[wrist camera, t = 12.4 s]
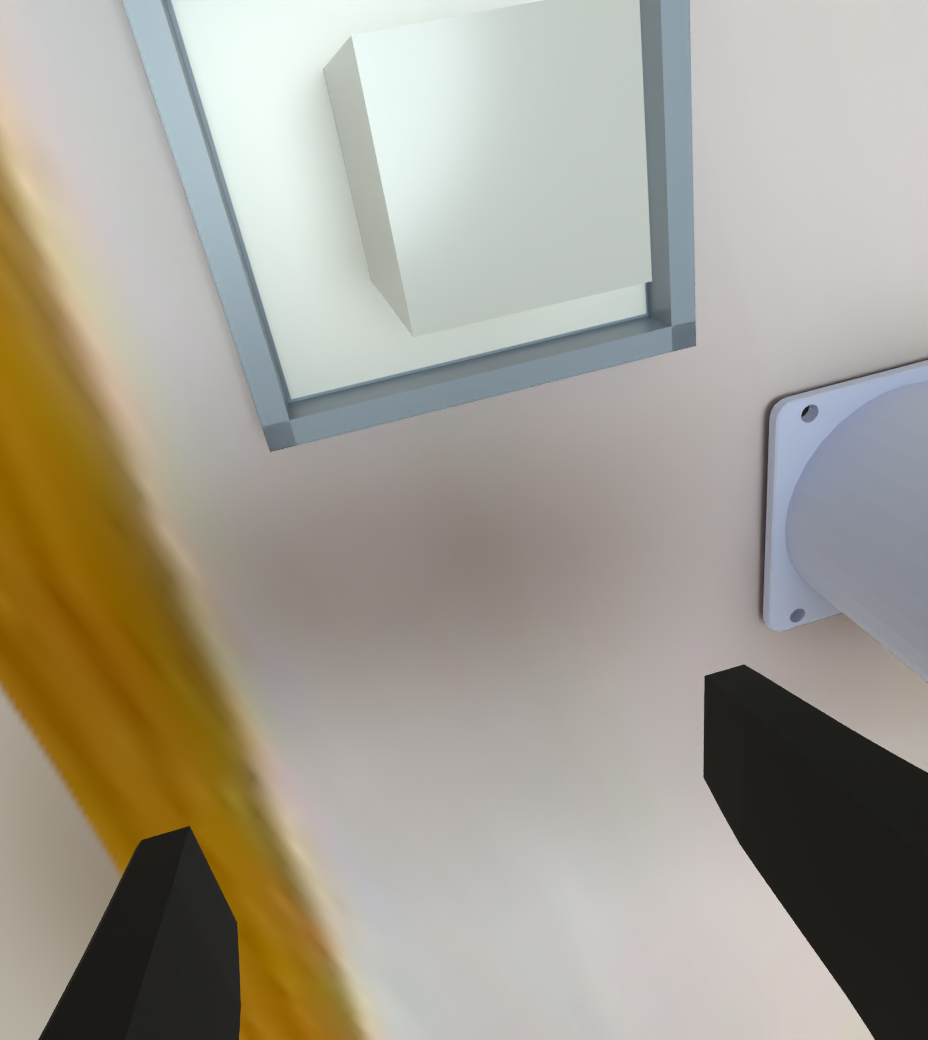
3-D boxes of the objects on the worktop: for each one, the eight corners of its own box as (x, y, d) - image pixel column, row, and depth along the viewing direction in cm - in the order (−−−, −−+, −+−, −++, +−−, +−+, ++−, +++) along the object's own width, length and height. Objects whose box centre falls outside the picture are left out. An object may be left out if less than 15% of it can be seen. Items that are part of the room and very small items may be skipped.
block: (519, 32, 15) (638, -17, 10) (542, 240, 17) (652, 281, 12) (322, 69, 14) (351, 34, 10) (370, 278, 16) (413, 336, 12)
